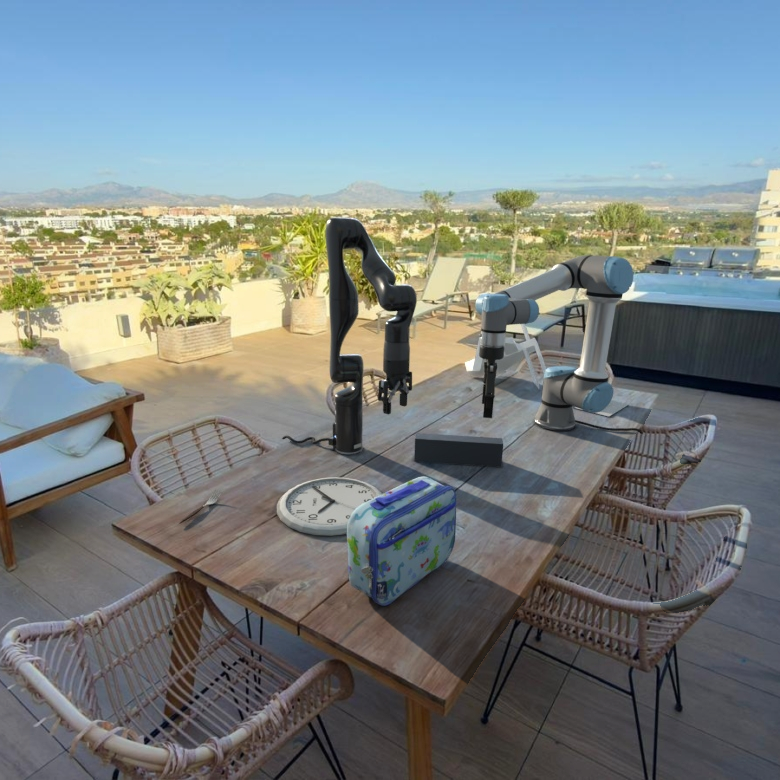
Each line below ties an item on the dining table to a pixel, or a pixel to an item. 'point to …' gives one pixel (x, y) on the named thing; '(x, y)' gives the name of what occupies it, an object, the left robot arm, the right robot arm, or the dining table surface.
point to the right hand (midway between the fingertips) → (486, 410)
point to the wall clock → (324, 504)
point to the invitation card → (610, 408)
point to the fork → (209, 502)
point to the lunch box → (400, 538)
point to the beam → (458, 449)
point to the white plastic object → (509, 357)
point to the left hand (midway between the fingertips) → (395, 409)
